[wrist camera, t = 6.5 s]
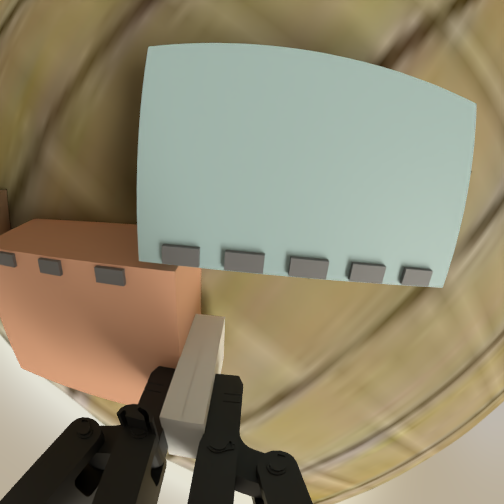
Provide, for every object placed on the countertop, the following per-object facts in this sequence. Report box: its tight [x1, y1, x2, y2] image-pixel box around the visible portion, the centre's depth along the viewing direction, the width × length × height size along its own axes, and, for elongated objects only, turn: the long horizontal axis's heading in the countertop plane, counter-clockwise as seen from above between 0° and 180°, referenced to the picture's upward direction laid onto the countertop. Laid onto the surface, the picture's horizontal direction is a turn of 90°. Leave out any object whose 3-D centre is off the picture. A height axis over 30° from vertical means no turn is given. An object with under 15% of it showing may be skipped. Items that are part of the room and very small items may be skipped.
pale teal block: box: [137, 43, 476, 288], centre depth 10 cm, size 7×11×5 cm, turn 85°
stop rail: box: [0, 189, 11, 235], centre depth 14 cm, size 11×1×2 cm, turn 175°
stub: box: [0, 219, 201, 405], centre depth 13 cm, size 8×11×5 cm
